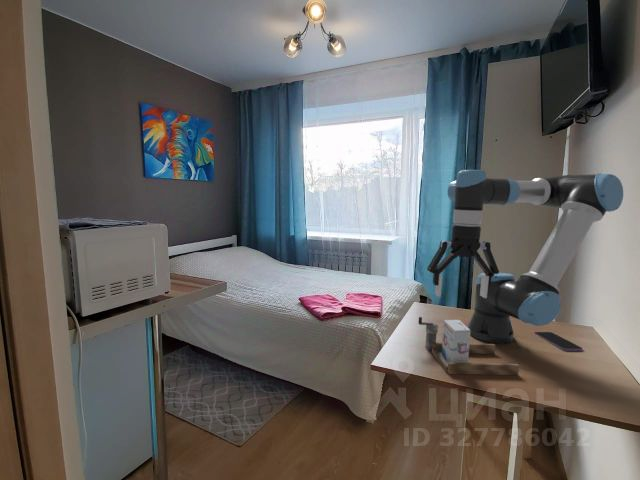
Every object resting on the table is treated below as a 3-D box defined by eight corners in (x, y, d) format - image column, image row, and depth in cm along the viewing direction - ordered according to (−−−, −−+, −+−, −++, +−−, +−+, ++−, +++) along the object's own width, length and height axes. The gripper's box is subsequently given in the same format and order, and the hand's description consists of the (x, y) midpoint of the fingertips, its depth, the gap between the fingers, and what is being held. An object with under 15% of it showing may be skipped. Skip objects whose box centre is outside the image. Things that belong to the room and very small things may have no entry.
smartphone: (551, 331, 128) (584, 348, 113) (551, 334, 128) (584, 352, 114) (532, 331, 128) (563, 349, 113) (532, 334, 128) (563, 352, 113)
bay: (487, 347, 114) (490, 317, 112) (518, 375, 97) (522, 339, 95) (415, 346, 114) (417, 315, 112) (432, 373, 97) (435, 337, 95)
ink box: (440, 354, 107) (443, 318, 106) (455, 354, 108) (459, 318, 106) (451, 368, 99) (455, 329, 97) (468, 368, 99) (472, 330, 98)
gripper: (502, 224, 102) (495, 293, 105) (419, 222, 101) (414, 291, 104) (517, 227, 94) (509, 301, 97) (428, 225, 94) (422, 299, 97)
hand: (460, 296), depth 101 cm, fingers open, 13 cm apart
